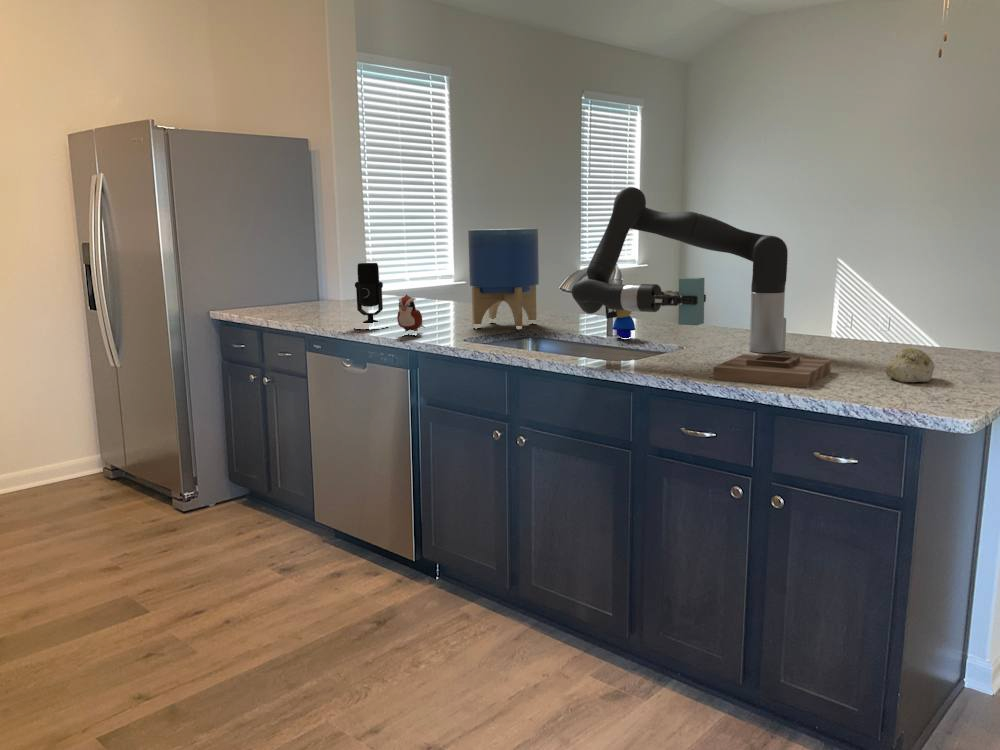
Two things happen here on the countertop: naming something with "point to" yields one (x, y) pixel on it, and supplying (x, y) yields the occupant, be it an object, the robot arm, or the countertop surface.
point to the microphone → (369, 289)
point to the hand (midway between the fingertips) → (701, 299)
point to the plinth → (773, 370)
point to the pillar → (691, 312)
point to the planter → (503, 271)
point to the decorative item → (910, 366)
